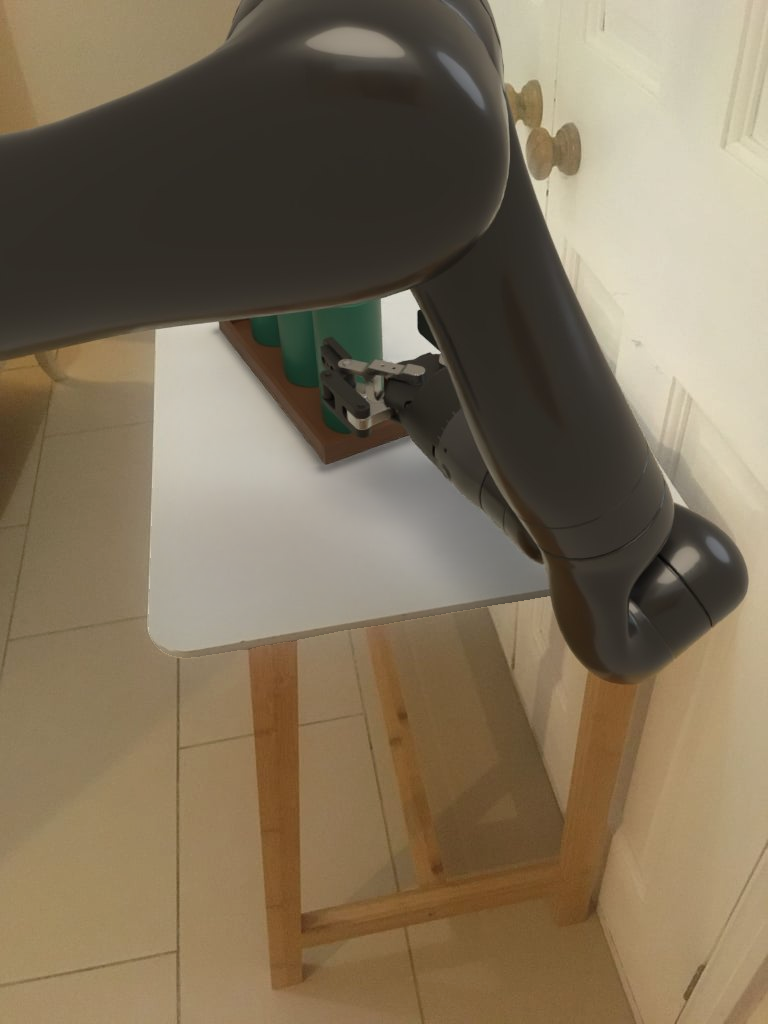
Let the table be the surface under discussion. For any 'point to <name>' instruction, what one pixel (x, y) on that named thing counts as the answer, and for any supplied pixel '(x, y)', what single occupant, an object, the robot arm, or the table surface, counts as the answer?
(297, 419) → the tray
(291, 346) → the row bottle middle
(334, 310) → the green bottle
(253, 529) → the table surface
